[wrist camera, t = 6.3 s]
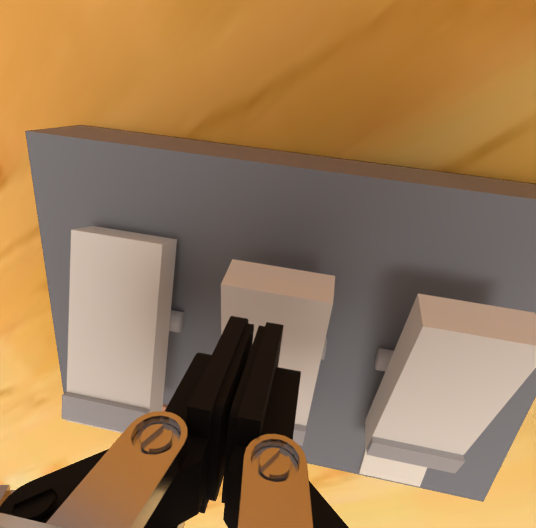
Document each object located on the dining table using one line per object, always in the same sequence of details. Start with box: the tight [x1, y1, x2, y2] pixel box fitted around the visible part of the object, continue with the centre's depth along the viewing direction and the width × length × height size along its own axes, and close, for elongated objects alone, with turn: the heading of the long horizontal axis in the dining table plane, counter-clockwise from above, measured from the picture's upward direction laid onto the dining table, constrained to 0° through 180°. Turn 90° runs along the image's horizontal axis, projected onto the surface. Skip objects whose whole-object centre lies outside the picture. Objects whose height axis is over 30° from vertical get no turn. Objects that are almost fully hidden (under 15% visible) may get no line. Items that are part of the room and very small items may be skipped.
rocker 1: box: [62, 226, 177, 433], centre depth 18 cm, size 9×4×2 cm, turn 174°
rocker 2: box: [221, 259, 335, 446], centre depth 17 cm, size 9×4×2 cm, turn 174°
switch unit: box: [25, 125, 536, 501], centre depth 20 cm, size 16×24×5 cm, turn 84°
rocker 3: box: [365, 293, 536, 473], centre depth 16 cm, size 9×4×2 cm, turn 174°
